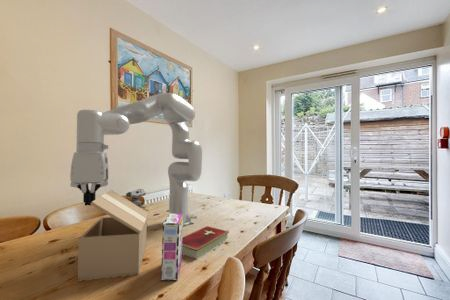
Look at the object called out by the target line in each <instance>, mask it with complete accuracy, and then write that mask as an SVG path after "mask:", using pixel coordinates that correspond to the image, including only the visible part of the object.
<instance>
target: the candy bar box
mask: <svg viewBox="0 0 450 300" xmlns="http://www.w3.org/2000/svg"><path fill="white" fill-rule="evenodd" d="M183 229H184V226H183V214H180V213H174V214H169V213H168V215H167V217H166V219H165V220H164V221H163V223H162V238H161V239H162V242H161V243H162V244H161V245H162V246H161V268H160V269H161V271H160V272H161V274H160V281H161V280H177V281H178V279H179V274H180V269H181V265H182V261H183V254H182V237H184V236H183V235H184V234H183V233H184V232H183V231H184V230H183Z"/></svg>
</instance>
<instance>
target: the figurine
mask: <svg viewBox="0 0 450 300" xmlns="http://www.w3.org/2000/svg"><path fill="white" fill-rule="evenodd" d="M146 194H147V193H146V191H145V189H143V188H138V189H134V190H131V191H128V192H127V193H125V196H126V197H128V198H126V199H127V200H129V201H130V202H132V203H134V204H135V205H137V206H138V207H140V208H142V209H143V210H146V209H147V206H143V201H141V200H140V197H144V196H146ZM129 198H131V199H129Z"/></svg>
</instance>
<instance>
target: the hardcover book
mask: <svg viewBox="0 0 450 300" xmlns="http://www.w3.org/2000/svg"><path fill="white" fill-rule="evenodd" d="M229 233H230V231H228V230H224V229H221V228H217V227H214V226H208V225H207V226H204V227H202V228H200V229H198V230H196V231H193V232H191V233H189V234H186V235H185V236H182V255H183V254H184V256H186V255H187V256H186V257H189V256H190V257H189V258H191V257H193V258H192V259H194V258H196V259H195V260H198V259H199V257H200V256H201V257H202V255H203V254H204V255H206V254H207V253H209V252H211V251H212V250H214V249H215V248H217V247H218V246H217V245H219V244H220V243H222V242H223V241H225V240H226V239H228V237H229V236H228V235H229ZM228 240H229V239H228ZM226 241H227V240H226ZM226 241H225V242H226ZM223 243H224V242H223ZM223 243H222V244H223ZM220 245H221V244H220ZM220 245H219V246H220ZM216 246H217V247H216ZM214 247H215V248H214ZM213 248H214V249H213ZM211 249H212V250H211ZM210 250H211V251H210ZM208 251H209V252H208ZM206 252H207V253H206ZM205 253H206V254H205ZM204 255H203V256H204ZM201 257H200V258H201ZM197 258H198V259H197Z"/></svg>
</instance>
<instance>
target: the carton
mask: <svg viewBox="0 0 450 300" xmlns="http://www.w3.org/2000/svg"><path fill="white" fill-rule="evenodd" d="M147 219H148V217H147V218H146V221H145V223H144V226H143V228H142V231H141V232H140V234H139V233H138V232H136V231H134V230H132V229H131V228H129V227H127V226H126V225H124V224H122V223H121V222H119V221H117V220H116V219H114V218H112V217H111V216H101V217H100V218H99V219H98V220H96V222H95V223H94V224H92V226H90V227H89V229H86V231H85V232H84V233H83V234H82V235H81V236H80V237H78V250H77V251H78V253H77V257H78V258H77V282H81V281H82V280H85V281H91V280H93V279H94V280H102V278H103V279H109V278H110V277H112V278H119V277H118V276H121V277H127V276H126V275H129V276H134V275H133V274H138V273H139V274H140V269H141V267H140V266H142V262H143V259H144V256H145V252H146V247H147V231H148V230H147V228H148V227H147V224H148V220H147ZM139 274H138V275H139Z"/></svg>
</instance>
